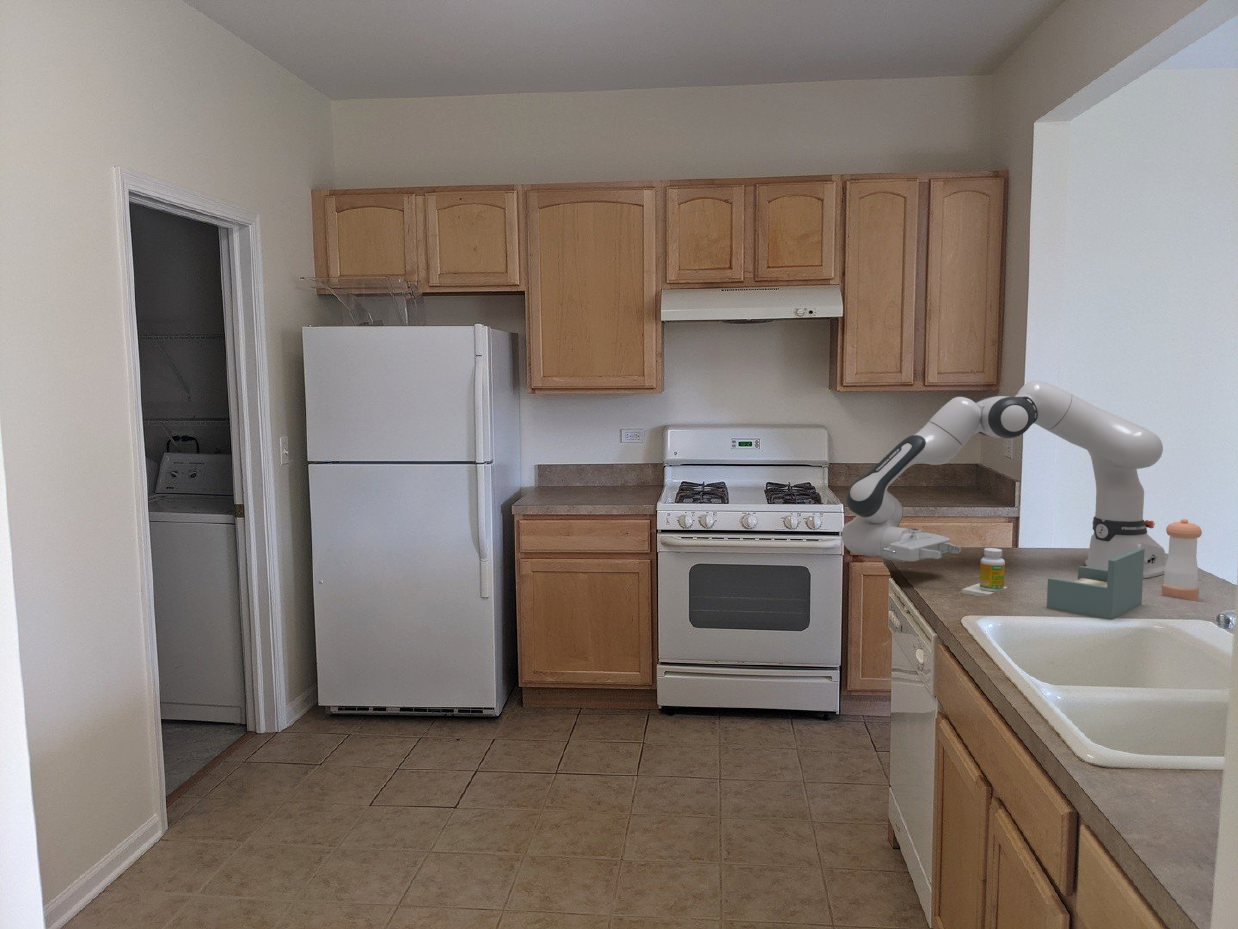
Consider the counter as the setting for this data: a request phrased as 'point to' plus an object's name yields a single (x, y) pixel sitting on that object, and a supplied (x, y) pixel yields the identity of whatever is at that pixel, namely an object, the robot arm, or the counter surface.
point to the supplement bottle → (992, 570)
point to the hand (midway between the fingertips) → (950, 552)
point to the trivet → (976, 591)
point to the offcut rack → (1101, 588)
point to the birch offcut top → (1091, 582)
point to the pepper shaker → (1182, 561)
